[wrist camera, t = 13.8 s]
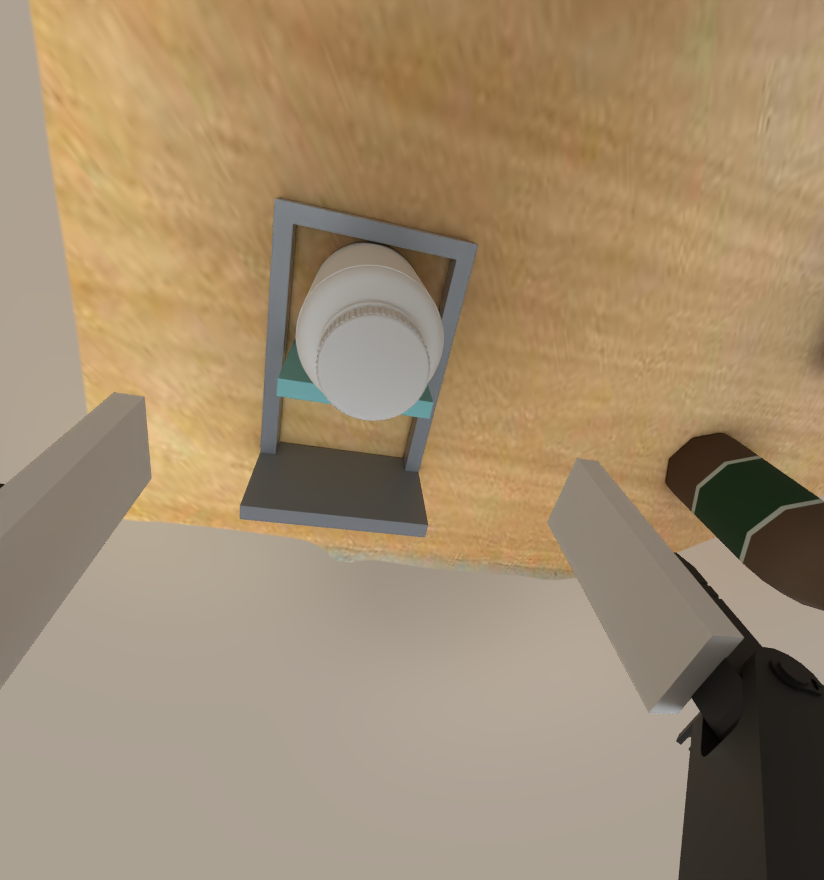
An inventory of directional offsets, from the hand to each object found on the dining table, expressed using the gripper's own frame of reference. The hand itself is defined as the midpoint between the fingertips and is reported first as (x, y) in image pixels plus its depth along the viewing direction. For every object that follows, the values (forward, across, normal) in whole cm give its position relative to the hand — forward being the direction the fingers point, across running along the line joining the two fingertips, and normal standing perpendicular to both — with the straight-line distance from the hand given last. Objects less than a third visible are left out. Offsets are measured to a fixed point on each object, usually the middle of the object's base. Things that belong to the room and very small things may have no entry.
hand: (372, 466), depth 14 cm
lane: (+23, 0, -5) cm, 23 cm away
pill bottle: (+23, 0, 0) cm, 23 cm away
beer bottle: (+23, +35, -10) cm, 43 cm away
